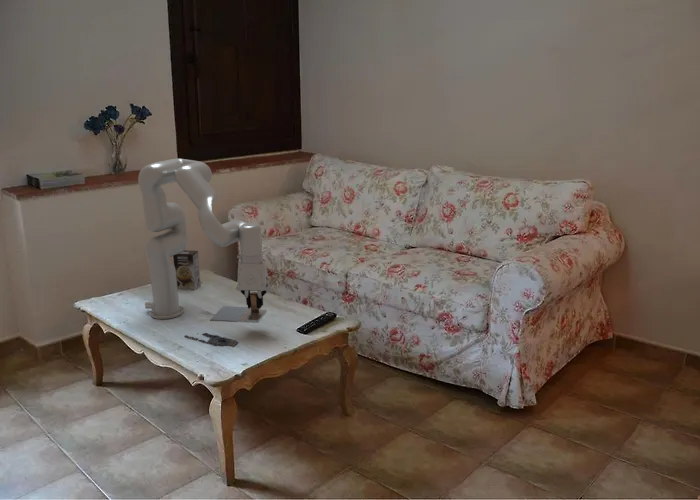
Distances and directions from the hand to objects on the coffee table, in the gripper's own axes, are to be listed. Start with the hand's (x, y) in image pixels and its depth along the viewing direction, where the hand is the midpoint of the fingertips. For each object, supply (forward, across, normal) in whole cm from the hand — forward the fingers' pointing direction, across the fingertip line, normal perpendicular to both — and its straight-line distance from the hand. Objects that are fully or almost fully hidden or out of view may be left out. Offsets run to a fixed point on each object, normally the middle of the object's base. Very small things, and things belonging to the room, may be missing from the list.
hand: (255, 306), depth 232 cm
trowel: (+3, 0, -3) cm, 4 cm away
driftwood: (+10, -13, -10) cm, 19 cm away
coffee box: (+10, -44, +42) cm, 61 cm away
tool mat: (+9, -15, +14) cm, 22 cm away
